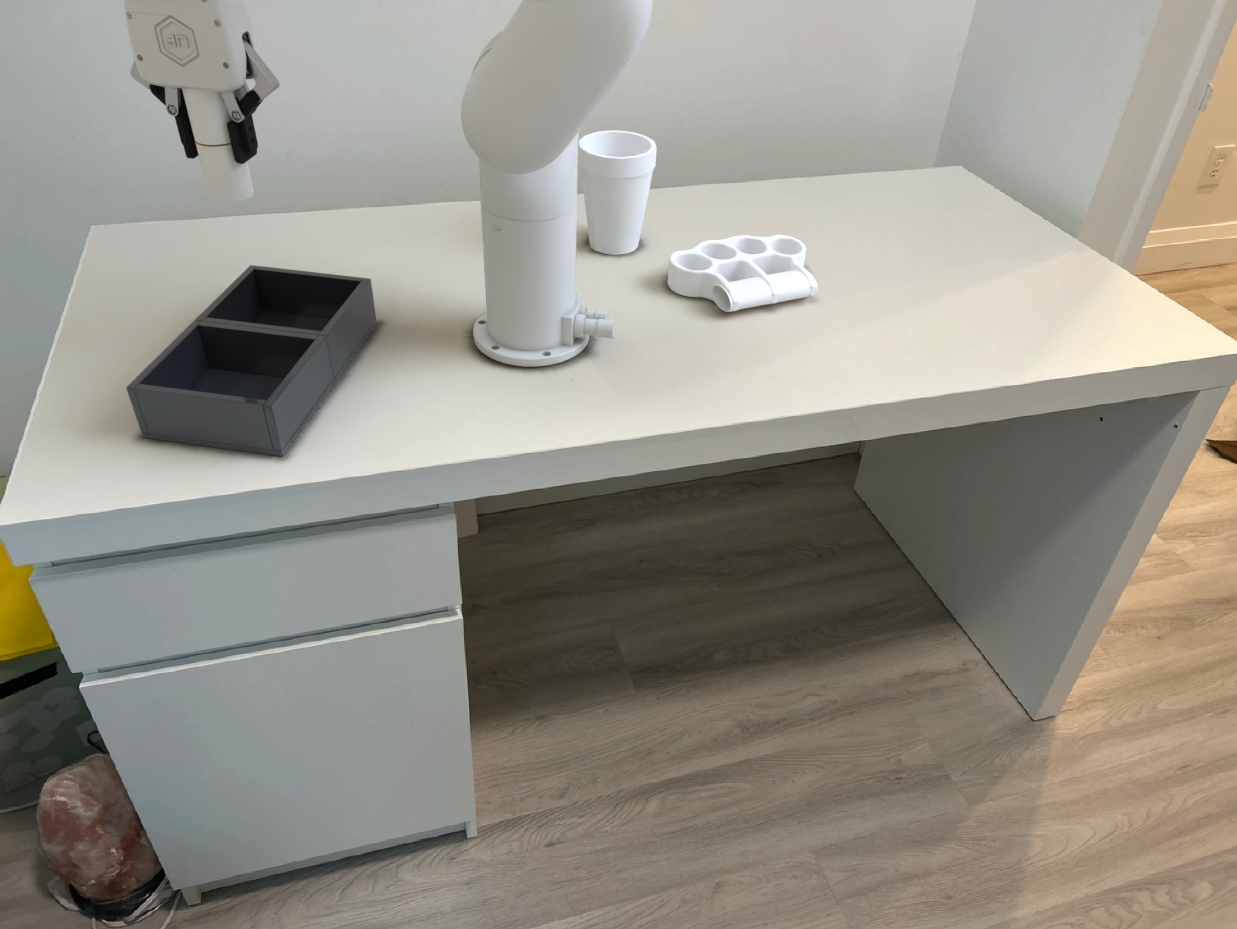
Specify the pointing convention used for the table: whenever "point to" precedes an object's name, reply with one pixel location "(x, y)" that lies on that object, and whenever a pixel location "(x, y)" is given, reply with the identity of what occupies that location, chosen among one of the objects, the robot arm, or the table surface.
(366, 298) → the right basin
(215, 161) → the tube
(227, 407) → the left basin
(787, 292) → the knuckle duster
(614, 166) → the foam cup
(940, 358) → the table surface
